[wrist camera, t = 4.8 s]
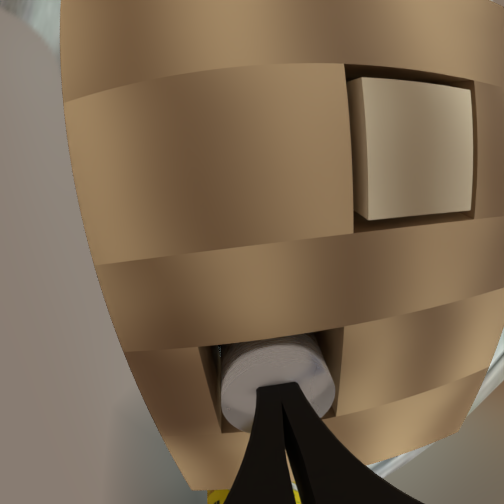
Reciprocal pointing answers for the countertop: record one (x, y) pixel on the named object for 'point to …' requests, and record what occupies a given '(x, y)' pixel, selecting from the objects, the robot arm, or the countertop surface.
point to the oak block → (282, 209)
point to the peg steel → (272, 374)
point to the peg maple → (409, 147)
